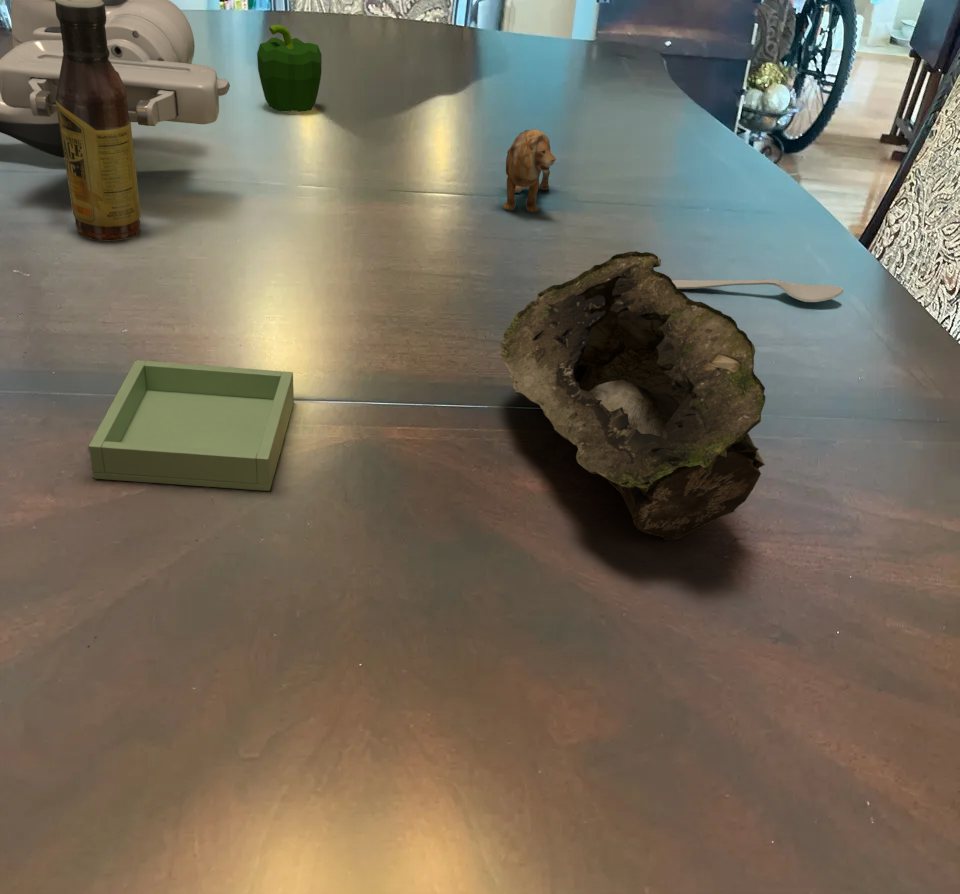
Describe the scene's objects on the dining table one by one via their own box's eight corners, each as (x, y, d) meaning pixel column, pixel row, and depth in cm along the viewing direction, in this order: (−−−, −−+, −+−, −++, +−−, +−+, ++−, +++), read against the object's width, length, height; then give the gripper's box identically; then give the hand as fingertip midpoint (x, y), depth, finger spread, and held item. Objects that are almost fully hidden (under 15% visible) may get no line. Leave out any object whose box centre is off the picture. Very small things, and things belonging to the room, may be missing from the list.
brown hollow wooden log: (680, 641, 70) (881, 503, 64) (566, 538, 62) (783, 372, 57) (580, 420, 90) (726, 301, 84) (484, 321, 82) (638, 184, 77)
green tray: (93, 478, 70) (88, 445, 68) (139, 390, 79) (135, 359, 78) (269, 491, 70) (268, 458, 69) (293, 402, 80) (293, 371, 78)
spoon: (843, 312, 103) (848, 296, 102) (635, 291, 103) (639, 274, 102) (834, 296, 107) (839, 280, 106) (632, 275, 106) (635, 259, 105)
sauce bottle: (72, 222, 104) (34, -11, 91) (137, 219, 106) (109, -9, 93) (81, 247, 99) (43, 5, 86) (149, 243, 101) (121, 7, 89)
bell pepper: (315, 100, 145) (314, 18, 139) (327, 117, 140) (327, 32, 133) (254, 99, 143) (250, 16, 136) (264, 117, 137) (260, 30, 131)
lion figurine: (547, 225, 115) (559, 138, 109) (499, 220, 115) (508, 132, 109) (549, 183, 126) (560, 102, 120) (505, 178, 126) (514, 97, 120)
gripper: (235, 114, 108) (210, 158, 98) (32, 95, 107) (-14, 138, 97) (230, 45, 104) (204, 84, 94) (19, 25, 103) (-31, 62, 93)
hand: (91, 111), depth 95 cm, fingers open, 8 cm apart
